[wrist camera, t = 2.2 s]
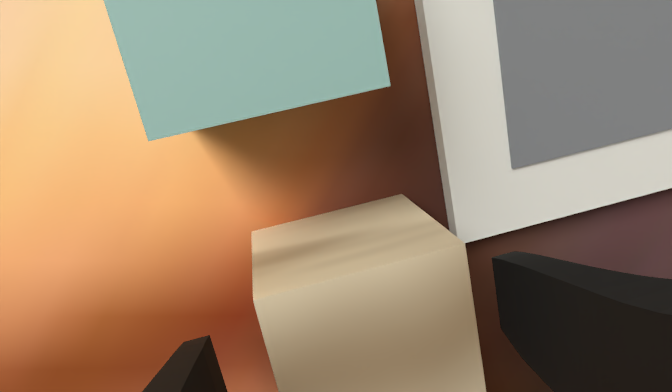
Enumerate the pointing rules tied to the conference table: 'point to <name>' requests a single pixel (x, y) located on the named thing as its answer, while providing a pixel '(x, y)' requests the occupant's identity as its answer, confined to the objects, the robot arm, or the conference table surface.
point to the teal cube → (243, 57)
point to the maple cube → (367, 302)
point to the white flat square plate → (546, 106)
